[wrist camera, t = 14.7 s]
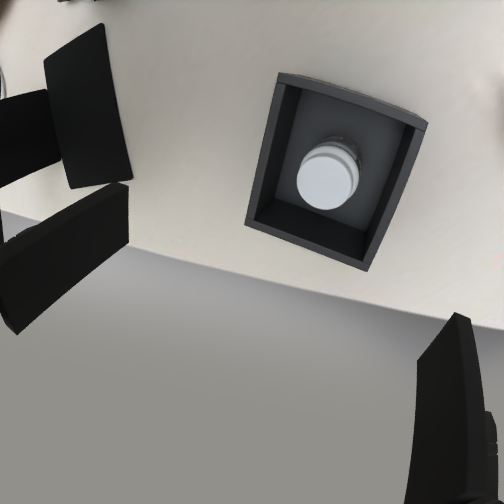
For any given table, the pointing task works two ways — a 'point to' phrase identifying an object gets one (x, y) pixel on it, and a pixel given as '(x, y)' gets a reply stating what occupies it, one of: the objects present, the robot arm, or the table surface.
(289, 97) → the basket
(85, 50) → the table lamp
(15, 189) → the table surface
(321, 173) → the pill bottle
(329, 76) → the table surface
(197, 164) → the table surface
